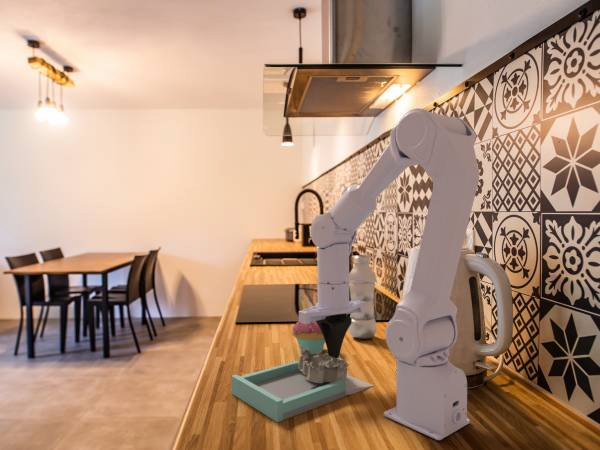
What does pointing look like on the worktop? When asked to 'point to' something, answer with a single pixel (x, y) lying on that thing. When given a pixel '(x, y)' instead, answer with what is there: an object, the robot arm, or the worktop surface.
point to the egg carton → (322, 367)
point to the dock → (289, 391)
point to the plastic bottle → (362, 297)
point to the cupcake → (309, 335)
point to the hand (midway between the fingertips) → (333, 356)
